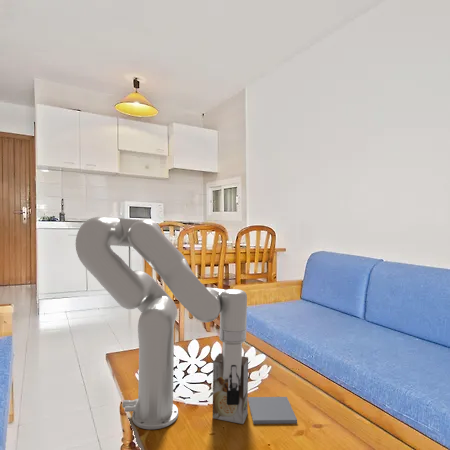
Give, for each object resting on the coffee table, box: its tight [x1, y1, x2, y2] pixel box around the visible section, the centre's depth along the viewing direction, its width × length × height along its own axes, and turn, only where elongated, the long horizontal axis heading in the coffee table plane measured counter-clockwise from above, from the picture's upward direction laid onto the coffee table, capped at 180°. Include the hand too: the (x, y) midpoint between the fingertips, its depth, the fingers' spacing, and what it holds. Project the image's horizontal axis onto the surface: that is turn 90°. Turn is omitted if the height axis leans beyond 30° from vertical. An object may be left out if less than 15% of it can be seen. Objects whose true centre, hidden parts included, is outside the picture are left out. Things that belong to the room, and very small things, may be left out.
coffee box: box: [212, 352, 249, 425], centre depth 94 cm, size 9×6×16 cm
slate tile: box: [248, 396, 298, 425], centre depth 97 cm, size 12×12×1 cm
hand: (231, 395), depth 94 cm, fingers closed on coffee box, 7 cm apart
